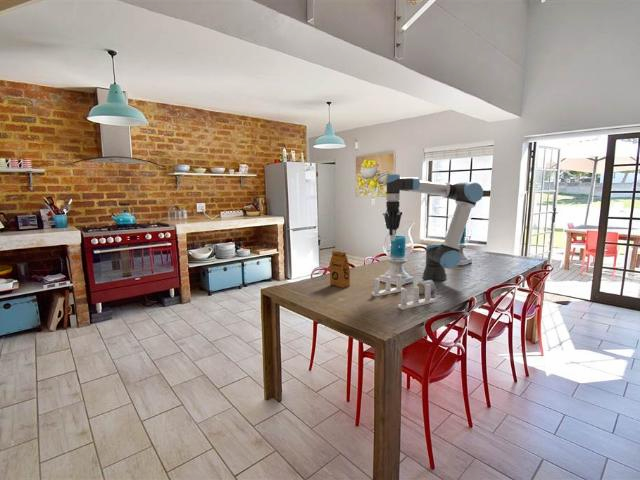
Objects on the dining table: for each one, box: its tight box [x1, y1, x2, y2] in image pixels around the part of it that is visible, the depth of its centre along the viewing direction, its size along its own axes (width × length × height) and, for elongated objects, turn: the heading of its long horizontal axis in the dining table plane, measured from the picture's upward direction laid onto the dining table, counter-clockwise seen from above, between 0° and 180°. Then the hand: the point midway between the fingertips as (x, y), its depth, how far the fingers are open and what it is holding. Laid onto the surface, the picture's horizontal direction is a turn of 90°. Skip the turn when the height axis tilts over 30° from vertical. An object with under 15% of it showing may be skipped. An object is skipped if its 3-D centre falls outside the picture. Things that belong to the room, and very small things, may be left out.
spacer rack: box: [371, 274, 435, 310], centre depth 179 cm, size 21×27×10 cm
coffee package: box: [329, 250, 351, 289], centre depth 205 cm, size 10×12×22 cm
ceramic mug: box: [416, 279, 437, 298], centre depth 185 cm, size 11×8×8 cm
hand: (392, 240), depth 195 cm, fingers closed
